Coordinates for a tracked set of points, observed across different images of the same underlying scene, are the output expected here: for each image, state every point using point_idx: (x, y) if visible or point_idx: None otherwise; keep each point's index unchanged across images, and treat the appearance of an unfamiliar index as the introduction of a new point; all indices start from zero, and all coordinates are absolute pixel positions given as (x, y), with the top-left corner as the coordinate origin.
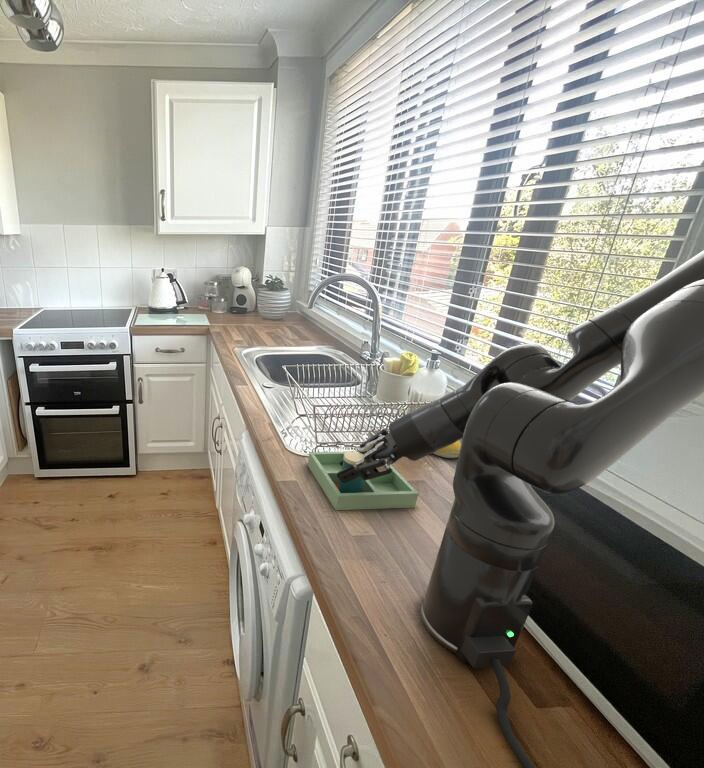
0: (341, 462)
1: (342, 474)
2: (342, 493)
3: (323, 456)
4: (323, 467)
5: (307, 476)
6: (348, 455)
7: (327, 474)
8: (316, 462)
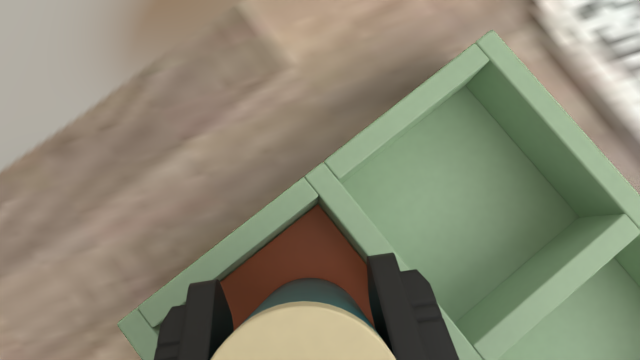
0: (369, 266)
1: (173, 328)
2: (153, 338)
3: (524, 114)
4: (474, 144)
5: (357, 100)
6: (284, 352)
7: (305, 201)
8: (401, 103)
